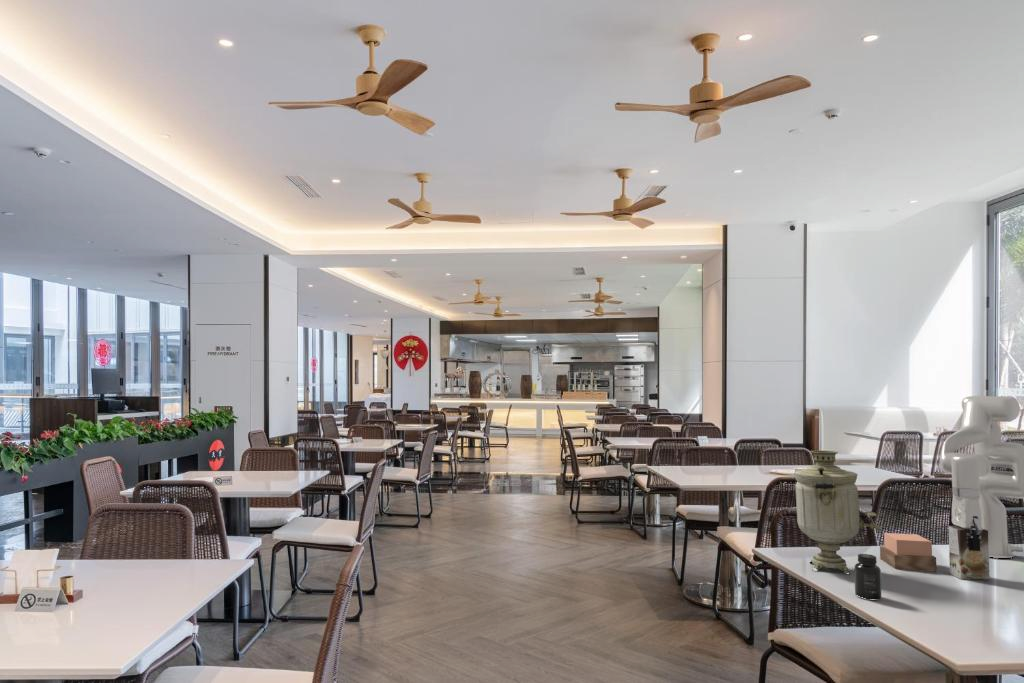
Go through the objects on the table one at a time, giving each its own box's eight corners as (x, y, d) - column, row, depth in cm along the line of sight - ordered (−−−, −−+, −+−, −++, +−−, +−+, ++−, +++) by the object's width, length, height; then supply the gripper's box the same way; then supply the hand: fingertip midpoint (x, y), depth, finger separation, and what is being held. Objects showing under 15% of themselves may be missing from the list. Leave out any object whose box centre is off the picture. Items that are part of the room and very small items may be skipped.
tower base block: (919, 562, 229) (918, 548, 229) (936, 572, 216) (936, 557, 217) (880, 560, 231) (879, 546, 232) (895, 570, 218) (894, 555, 219)
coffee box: (960, 579, 207) (958, 529, 208) (949, 573, 213) (947, 525, 214) (990, 580, 206) (988, 530, 207) (978, 575, 212) (976, 526, 213)
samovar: (868, 588, 196) (865, 458, 199) (782, 571, 214) (779, 452, 217) (891, 569, 218) (887, 452, 221) (811, 555, 236) (808, 446, 239)
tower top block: (917, 548, 228) (917, 534, 229) (932, 556, 218) (931, 541, 218) (884, 546, 230) (884, 532, 231) (897, 554, 220) (896, 539, 220)
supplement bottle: (886, 598, 187) (884, 556, 188) (873, 602, 184) (872, 560, 184) (863, 591, 193) (861, 551, 194) (850, 595, 189) (849, 554, 190)
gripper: (941, 488, 221) (943, 541, 219) (967, 496, 204) (969, 553, 202) (964, 489, 219) (967, 542, 218) (993, 497, 202) (996, 555, 201)
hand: (968, 547), depth 210 cm, fingers closed on coffee box, 6 cm apart
